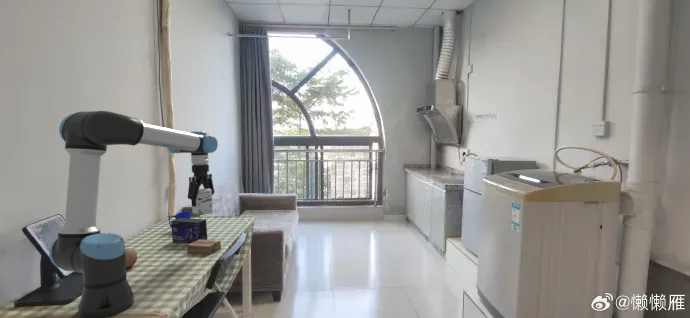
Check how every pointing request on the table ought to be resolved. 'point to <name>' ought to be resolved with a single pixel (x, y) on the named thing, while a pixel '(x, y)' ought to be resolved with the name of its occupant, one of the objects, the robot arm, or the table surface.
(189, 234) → the box
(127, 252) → the fruit
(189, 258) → the table surface
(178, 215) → the mug
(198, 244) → the walnut block
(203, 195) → the ink box
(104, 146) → the robot arm
